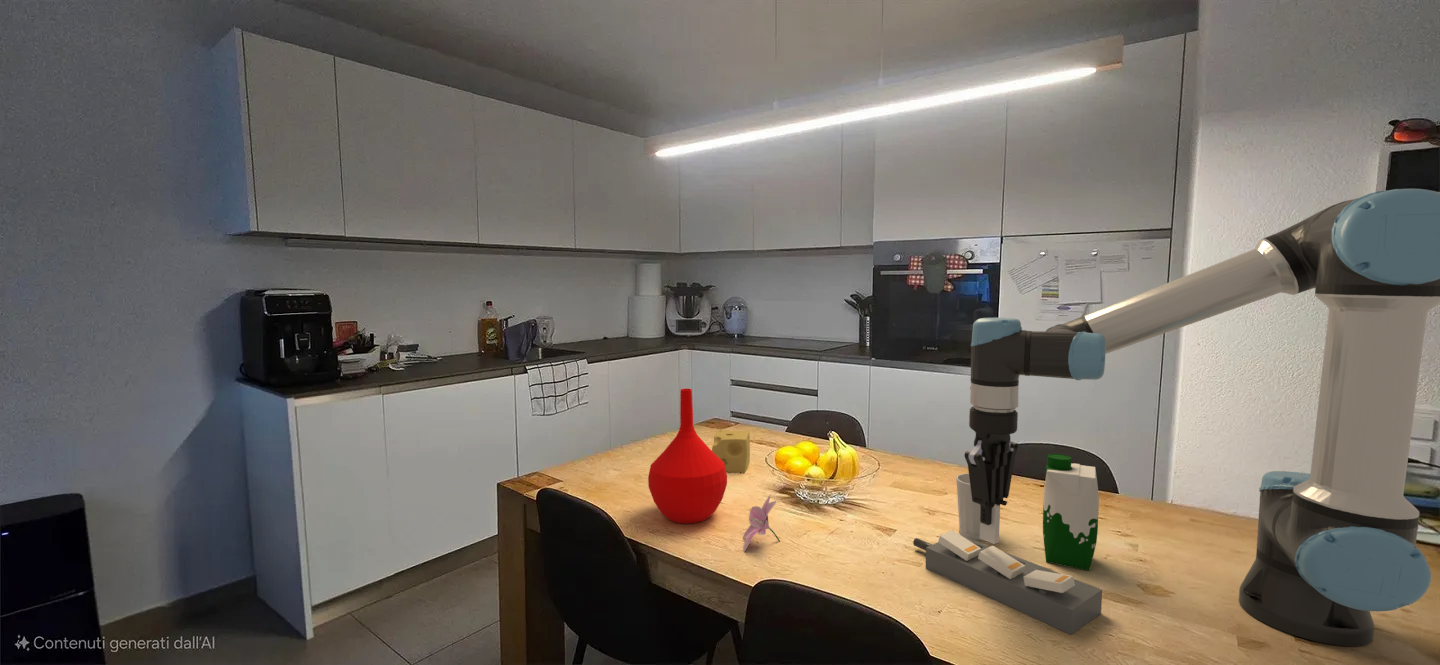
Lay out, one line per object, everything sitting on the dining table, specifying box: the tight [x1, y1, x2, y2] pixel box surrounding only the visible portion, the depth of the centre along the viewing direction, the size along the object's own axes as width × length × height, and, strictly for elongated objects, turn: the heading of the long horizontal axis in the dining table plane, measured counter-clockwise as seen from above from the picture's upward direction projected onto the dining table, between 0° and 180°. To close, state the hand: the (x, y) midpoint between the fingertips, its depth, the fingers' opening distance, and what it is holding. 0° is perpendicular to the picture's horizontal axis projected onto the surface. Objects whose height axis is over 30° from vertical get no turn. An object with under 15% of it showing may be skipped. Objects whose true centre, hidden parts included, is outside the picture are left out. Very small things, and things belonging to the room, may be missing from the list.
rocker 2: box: [978, 545, 1025, 579], centre depth 102 cm, size 6×4×2 cm, turn 35°
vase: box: [647, 388, 728, 524], centre depth 136 cm, size 18×18×30 cm
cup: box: [955, 472, 985, 542], centre depth 125 cm, size 8×8×12 cm
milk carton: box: [1042, 453, 1100, 572], centre depth 113 cm, size 9×9×20 cm
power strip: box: [912, 535, 1103, 636], centre depth 105 cm, size 32×10×4 cm, turn 35°
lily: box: [742, 494, 781, 553], centre depth 122 cm, size 12×12×10 cm
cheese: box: [711, 429, 751, 474], centre depth 172 cm, size 10×11×10 cm
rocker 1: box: [937, 529, 981, 561], centre depth 108 cm, size 6×4×2 cm, turn 35°
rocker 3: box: [1023, 570, 1075, 593], centre depth 95 cm, size 6×4×2 cm, turn 34°
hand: (989, 540), depth 103 cm, fingers closed
